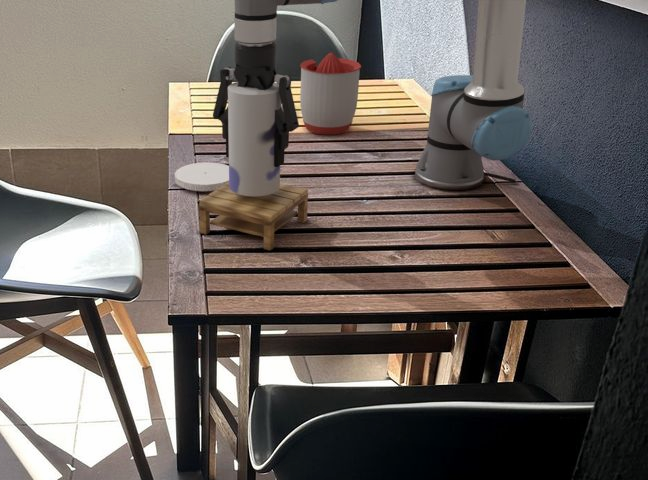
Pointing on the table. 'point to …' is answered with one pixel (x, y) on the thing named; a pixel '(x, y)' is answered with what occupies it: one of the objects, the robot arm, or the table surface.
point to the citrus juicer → (329, 94)
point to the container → (252, 140)
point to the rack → (253, 211)
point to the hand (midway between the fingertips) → (254, 159)
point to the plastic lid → (202, 176)
